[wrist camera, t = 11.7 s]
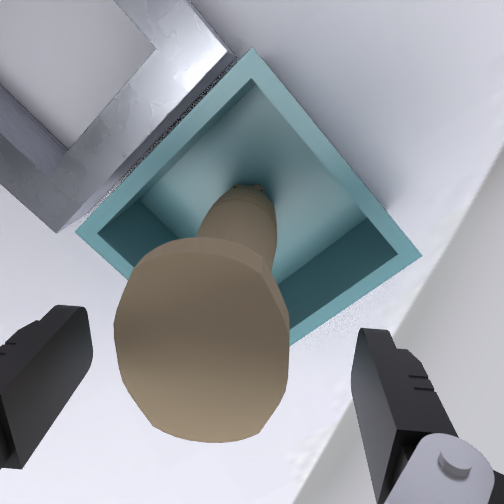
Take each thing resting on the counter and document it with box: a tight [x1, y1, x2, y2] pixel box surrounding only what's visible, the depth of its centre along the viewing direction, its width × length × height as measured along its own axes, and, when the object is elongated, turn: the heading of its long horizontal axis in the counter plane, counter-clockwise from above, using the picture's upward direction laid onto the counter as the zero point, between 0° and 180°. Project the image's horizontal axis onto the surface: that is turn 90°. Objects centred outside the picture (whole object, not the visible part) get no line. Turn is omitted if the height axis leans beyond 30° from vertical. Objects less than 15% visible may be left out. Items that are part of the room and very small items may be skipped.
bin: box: [75, 47, 422, 346], centre depth 22 cm, size 12×12×7 cm
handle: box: [114, 183, 290, 443], centre depth 18 cm, size 5×6×15 cm
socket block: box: [0, 0, 236, 233], centre depth 21 cm, size 14×14×4 cm
